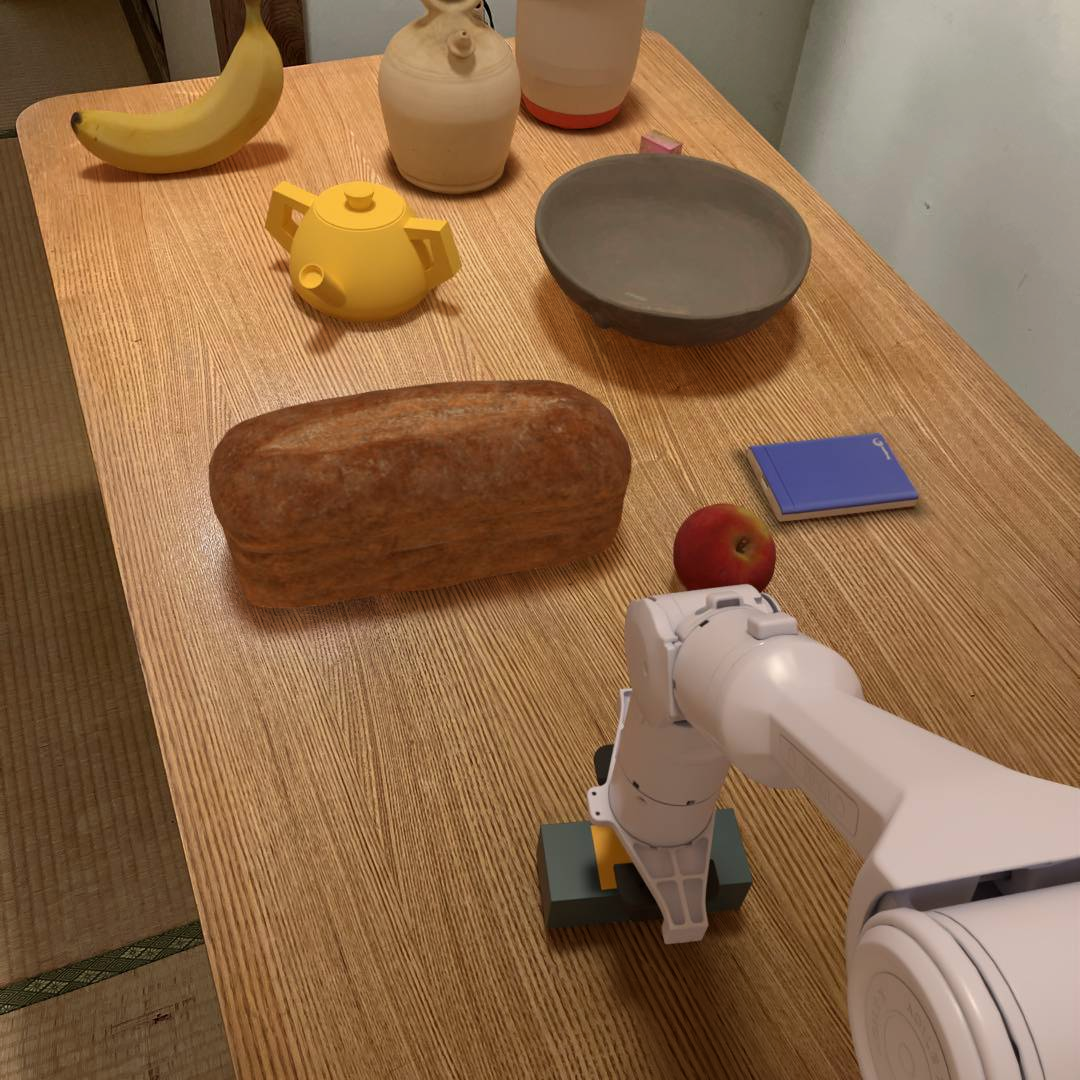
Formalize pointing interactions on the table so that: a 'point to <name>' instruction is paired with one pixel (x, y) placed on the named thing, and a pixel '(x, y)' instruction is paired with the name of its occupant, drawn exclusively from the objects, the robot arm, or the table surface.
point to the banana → (195, 114)
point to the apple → (724, 549)
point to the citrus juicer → (577, 58)
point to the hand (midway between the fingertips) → (637, 871)
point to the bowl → (672, 247)
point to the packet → (589, 881)
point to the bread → (417, 489)
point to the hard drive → (831, 477)
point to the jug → (449, 99)
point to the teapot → (360, 250)
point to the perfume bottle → (659, 143)
